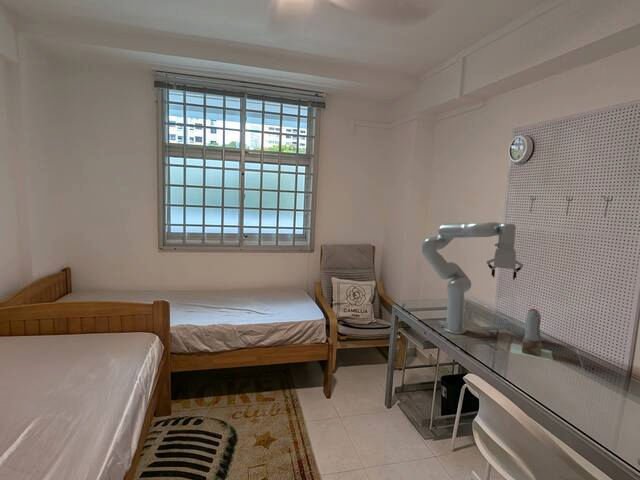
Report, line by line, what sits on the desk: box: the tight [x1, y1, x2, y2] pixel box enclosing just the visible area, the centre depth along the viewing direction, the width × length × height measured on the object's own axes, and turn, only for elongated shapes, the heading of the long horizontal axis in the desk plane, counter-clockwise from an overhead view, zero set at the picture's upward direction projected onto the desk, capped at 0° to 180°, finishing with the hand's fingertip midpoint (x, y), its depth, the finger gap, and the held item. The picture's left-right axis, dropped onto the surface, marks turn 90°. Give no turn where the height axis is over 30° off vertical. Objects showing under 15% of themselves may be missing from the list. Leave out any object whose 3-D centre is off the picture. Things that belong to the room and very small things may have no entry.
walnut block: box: [521, 335, 543, 357], centre depth 173 cm, size 8×8×6 cm
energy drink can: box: [524, 309, 542, 342], centre depth 172 cm, size 6×6×15 cm
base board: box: [510, 342, 554, 362], centre depth 174 cm, size 18×13×1 cm
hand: (503, 278), depth 183 cm, fingers open, 9 cm apart
